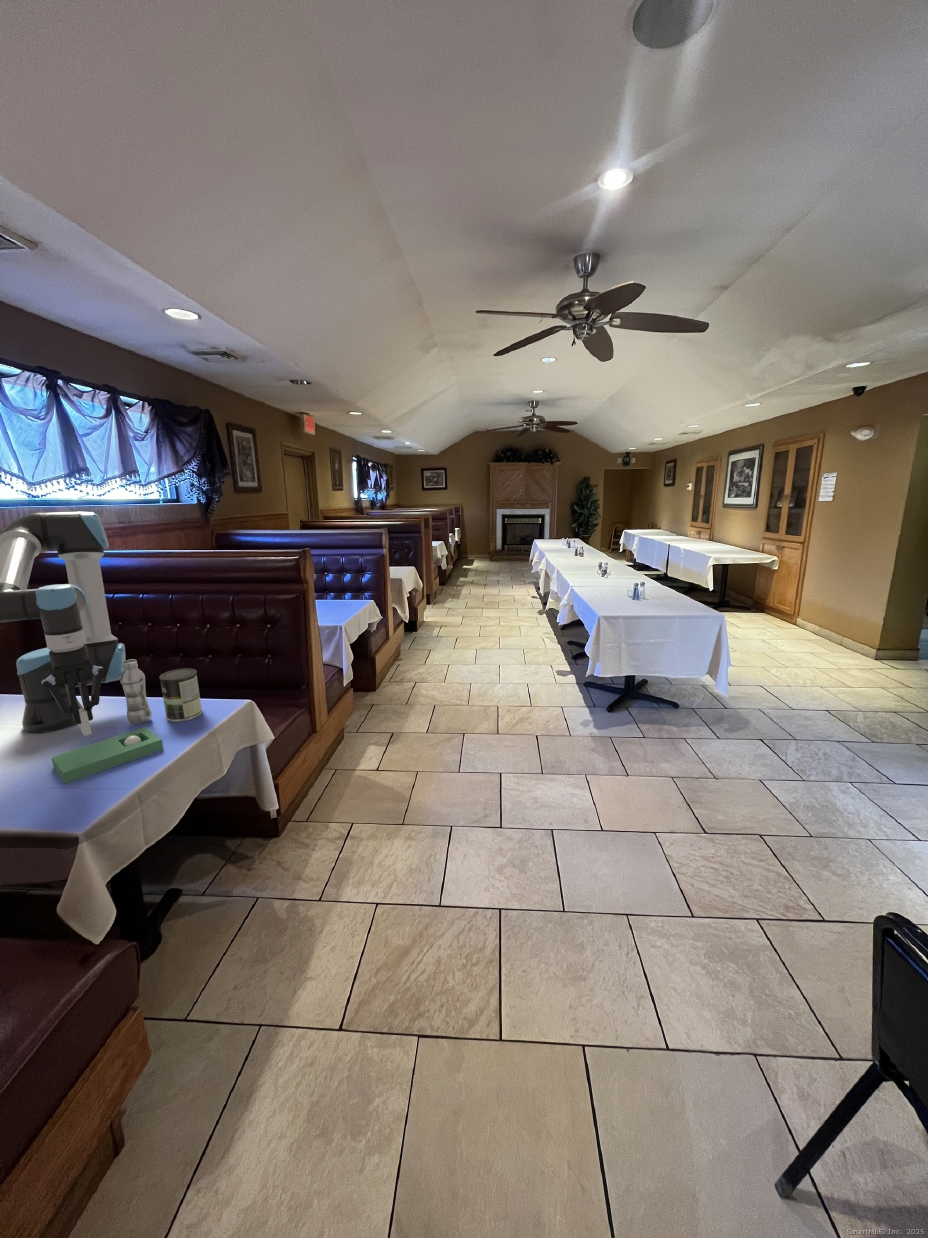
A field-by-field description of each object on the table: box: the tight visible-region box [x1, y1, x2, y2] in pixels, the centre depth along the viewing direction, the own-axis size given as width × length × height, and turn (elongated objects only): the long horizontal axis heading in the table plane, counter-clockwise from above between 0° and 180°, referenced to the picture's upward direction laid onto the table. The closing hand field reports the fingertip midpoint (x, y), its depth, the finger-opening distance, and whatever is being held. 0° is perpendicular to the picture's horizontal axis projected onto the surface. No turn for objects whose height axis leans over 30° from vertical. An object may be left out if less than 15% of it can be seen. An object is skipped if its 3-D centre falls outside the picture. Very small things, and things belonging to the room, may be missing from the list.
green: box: [50, 726, 164, 785], centre depth 133 cm, size 12×22×3 cm, turn 140°
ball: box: [124, 735, 141, 747], centre depth 137 cm, size 4×4×4 cm
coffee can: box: [158, 667, 203, 723], centre depth 158 cm, size 10×10×14 cm
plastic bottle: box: [119, 659, 152, 725], centre depth 152 cm, size 6×7×20 cm
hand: (86, 733), depth 129 cm, fingers closed
